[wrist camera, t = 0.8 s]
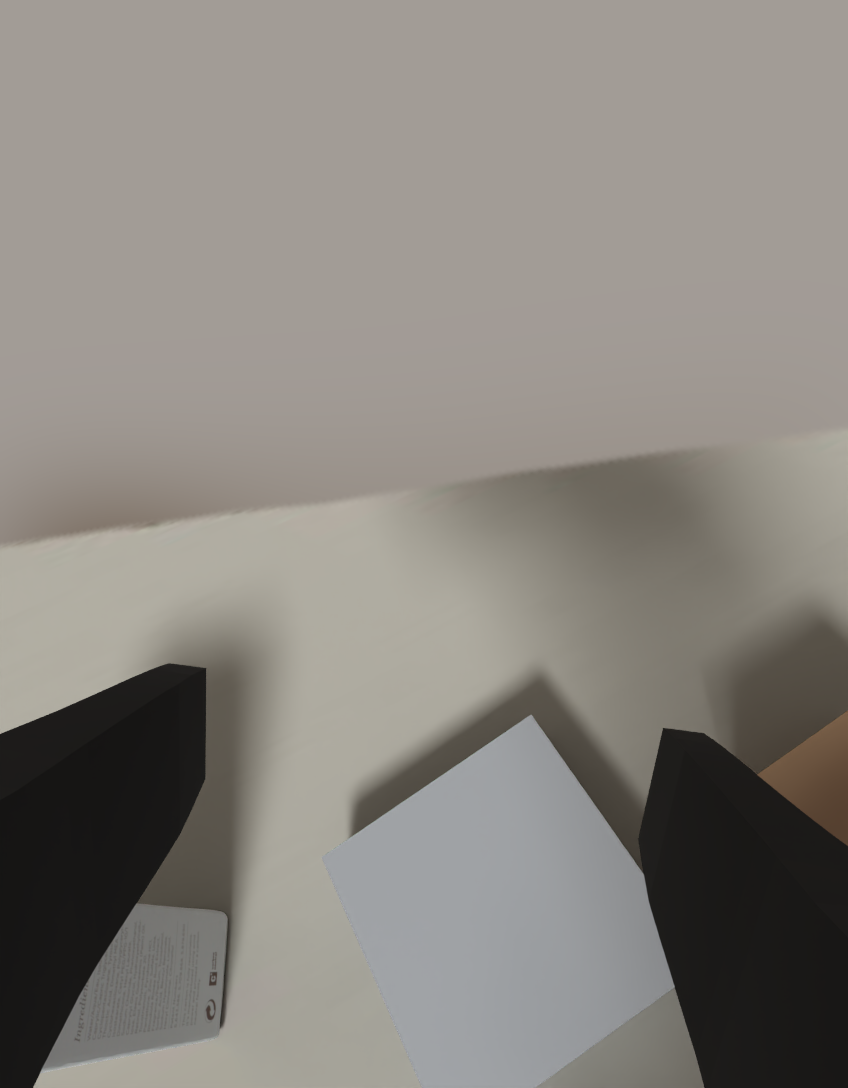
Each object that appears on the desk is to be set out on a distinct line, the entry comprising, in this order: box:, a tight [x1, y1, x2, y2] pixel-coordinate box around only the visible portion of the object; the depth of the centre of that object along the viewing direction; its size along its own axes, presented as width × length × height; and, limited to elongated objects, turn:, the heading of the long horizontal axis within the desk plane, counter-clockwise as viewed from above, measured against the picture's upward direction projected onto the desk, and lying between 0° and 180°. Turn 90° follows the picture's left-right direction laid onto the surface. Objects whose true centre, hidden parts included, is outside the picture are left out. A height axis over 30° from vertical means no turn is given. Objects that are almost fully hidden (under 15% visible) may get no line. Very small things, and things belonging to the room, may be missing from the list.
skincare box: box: [40, 903, 228, 1073], centre depth 22 cm, size 6×4×12 cm
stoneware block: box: [322, 715, 675, 1088], centre depth 24 cm, size 9×9×3 cm
